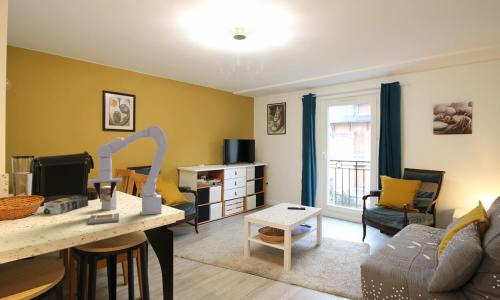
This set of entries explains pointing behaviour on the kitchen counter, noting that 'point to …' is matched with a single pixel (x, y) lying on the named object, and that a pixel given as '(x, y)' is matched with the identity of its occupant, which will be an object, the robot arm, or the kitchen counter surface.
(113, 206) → the skincare box
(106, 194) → the tan wooden block
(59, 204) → the juice carton
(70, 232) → the kitchen counter surface
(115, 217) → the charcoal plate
